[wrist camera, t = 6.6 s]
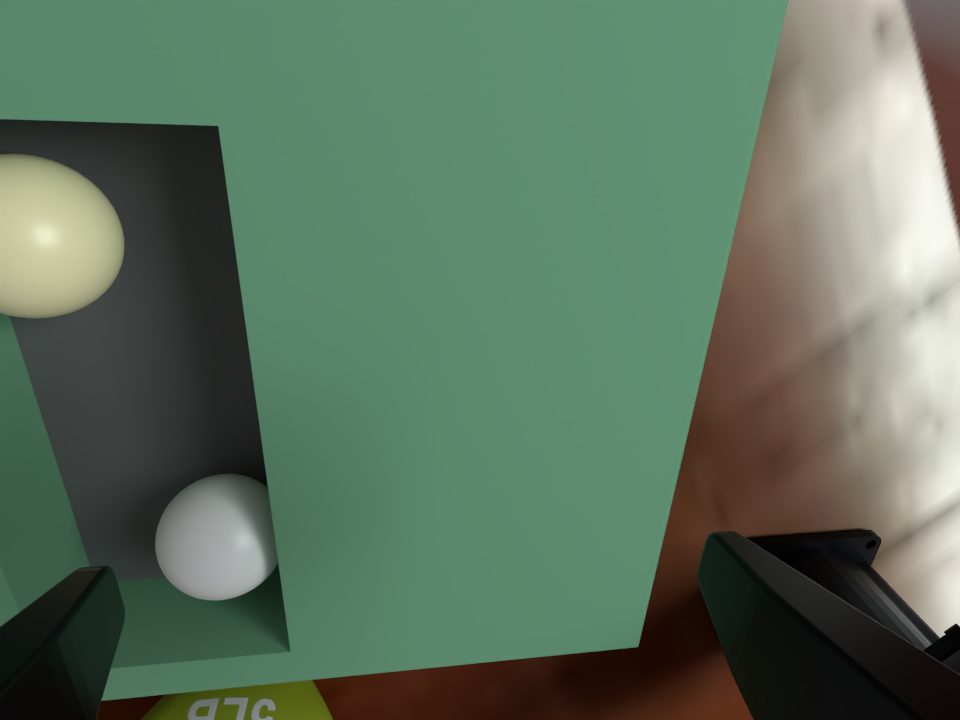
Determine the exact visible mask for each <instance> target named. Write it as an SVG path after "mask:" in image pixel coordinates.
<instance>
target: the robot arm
mask: <svg viewBox="0 0 960 720" xmlns="http://www.w3.org/2000/svg"><path fill="white" fill-rule="evenodd" d="M880 544H881V538H880V537H879V536H878V535H877V534H876V533H875V532H873V531H872V530H861V531H847V532H834V533H820V534H807V535H793V536H780V537H766V538H755V539H751V540H748V539H746V538H745V537H743V536H742V535H740V534H738V533H737V532H733V531H724V532H713V533H710V534H709V535H708V537H707V539H706V542H705V545H704V549H703V553H702V556H701V560H700V563H699V567H698V582H699V586H700V589H701V591H702V594H703V597H704V600H705V602H706V605H707V608H708V610H709V613H710V616H711V619H712V621H713V624H714V627H715V630H716V632H717V633H716V638H717V640H718V641H719V643H720V645H721V646H722V649H723V651H724V654H725V657H726V660H727V662H728V665H729V667H730V670H731V672H732V675H733V677H734V679H735V681H736V684H737V686H738V688H739V690H740V692H741V694H742V696H743V698H744V701H745V703H746V705H747V707H748V709H749V711H750V713H751V715H752V717H753V719H754V720H960V626H959V625H957V624H954V625H953V626H952V627H950V628H949V629H947V630H946V631H945V632H944V633H945V634H946V635H944V636H943V637H941V638H939V637H938V636H937V634H936V633H935V632H934V631H933V630H932V629H931V628H930V627H929V626H928V625H927V624H926V623H925V622H924V621H923V620H922V619H921V618H920V617H919V616H918V615H917V614H916V613H915V612H914V611H913V609H912V608H911V607H910V606H909V605H908V604H907V603H906V602H905V601H904V600H903V599H902V598H901V597H900V596H899V595H898V594H897V593H896V592H895V591H894V590H893V589H892V588H891V587H890V586H889V585H888V583H887V582H886V581H885V580H884V579H883V578H882V577H881V576H880V575H879V574H878V573H877V572H876V571H875V570H874V569H873V568H872V567H871V565H872V562H873V560H874V558H875V556H876V553H877V551H878V549H879V546H880ZM124 620H125V606H124V602H123V599H122V595H121V591H120V588H119V584H118V581H117V577H116V574H115V571H114V570H113V569H112V568H111V567H109V566H93V567H82V568H79V569H77V570H75V571H73V572H72V573H71V574H69V575H68V576H67V577H65V578H64V579H63V580H61V581H60V582H59V583H57V584H56V585H55V586H53V587H52V588H51V589H49V590H48V591H47V592H45V593H44V594H43V595H41V596H40V597H39V598H37V599H36V600H35V601H33V602H32V603H31V604H30V605H28V606H27V607H26V608H24V609H23V610H22V611H20V612H19V613H18V614H16V615H15V616H14V617H12V618H11V619H10V620H8V621H7V622H6V623H4V624H3V625H2V626H0V720H96V717H97V714H98V711H99V707H100V704H101V701H102V697H103V694H104V690H105V687H106V683H107V680H108V677H109V673H110V670H111V666H112V663H113V660H114V656H115V653H116V649H117V646H118V643H119V639H120V636H121V632H122V629H123V625H124Z"/></svg>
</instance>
